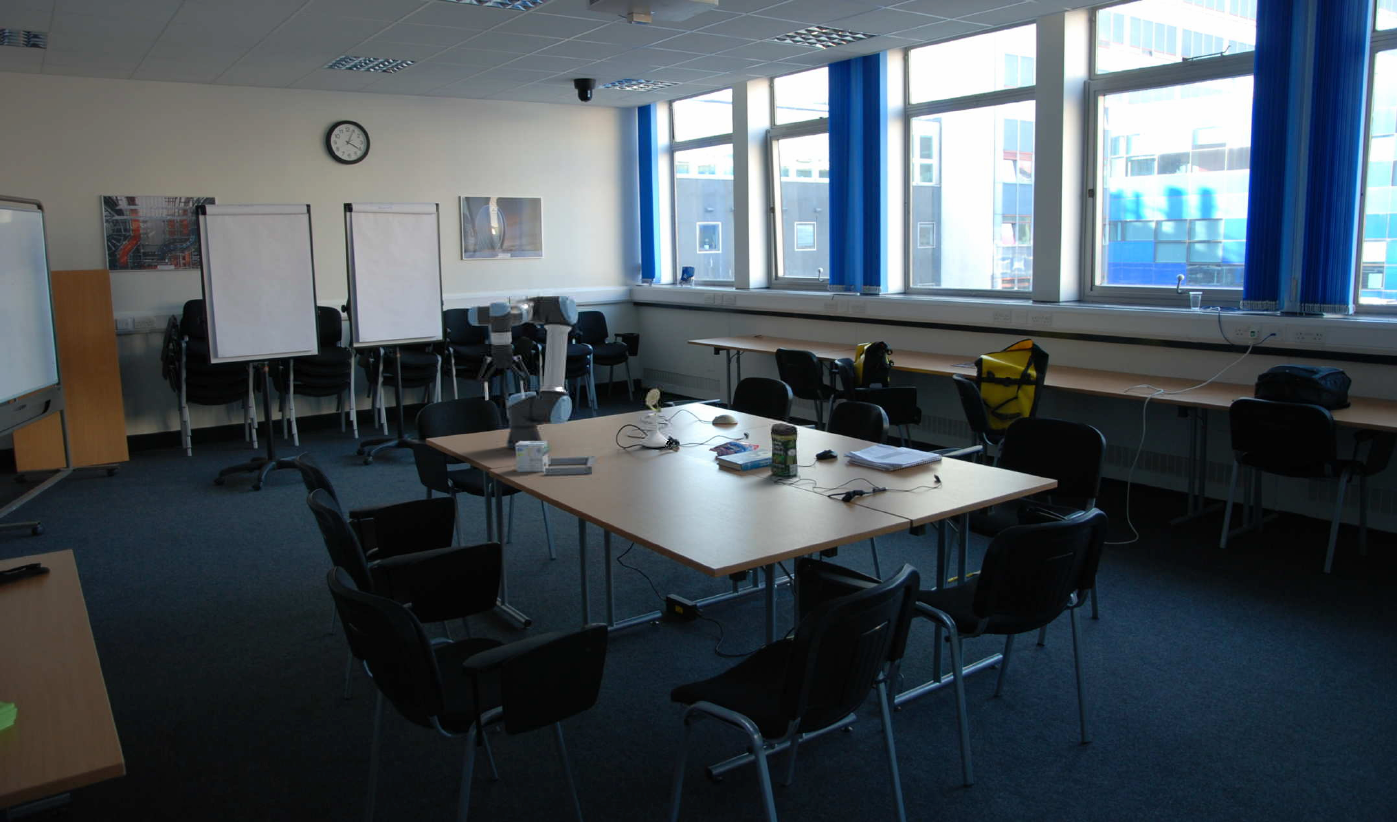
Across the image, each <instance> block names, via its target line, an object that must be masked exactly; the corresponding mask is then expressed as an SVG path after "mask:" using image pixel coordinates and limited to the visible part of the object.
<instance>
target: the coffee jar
mask: <svg viewBox="0 0 1397 822" xmlns="http://www.w3.org/2000/svg"><path fill="white" fill-rule="evenodd" d="M770 438H771V461H770V462H771V465H770V467H771V468H770V472H771V474H772V475H775V476H779V477H784V478H785V477H788V478H790V477H789V476H792V477H794V476H797V475H798V474H799V471H798V469H799V468H798V455H797V453H798V449H797V441H798V428H797V427H796V426H795V425H790V424H786V423H782V422H781V423H780V422H779V423H774V424H772V425H771V428H770Z"/></svg>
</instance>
